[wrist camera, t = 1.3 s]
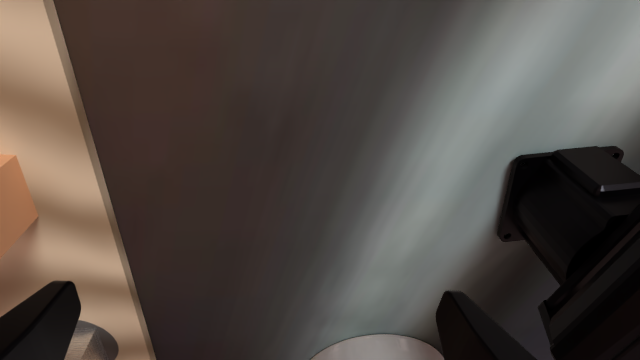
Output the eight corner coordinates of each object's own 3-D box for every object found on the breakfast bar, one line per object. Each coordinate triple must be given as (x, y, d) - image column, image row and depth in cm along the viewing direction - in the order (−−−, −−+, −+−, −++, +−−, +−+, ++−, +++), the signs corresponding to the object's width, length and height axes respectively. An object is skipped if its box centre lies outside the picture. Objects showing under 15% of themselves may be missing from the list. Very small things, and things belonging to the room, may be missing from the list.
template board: (158, 368, 32) (155, 378, 31) (30, 372, 31) (24, 382, 31) (10, -150, 15) (-5, -155, 14) (-289, -171, 14) (-320, -177, 13)
